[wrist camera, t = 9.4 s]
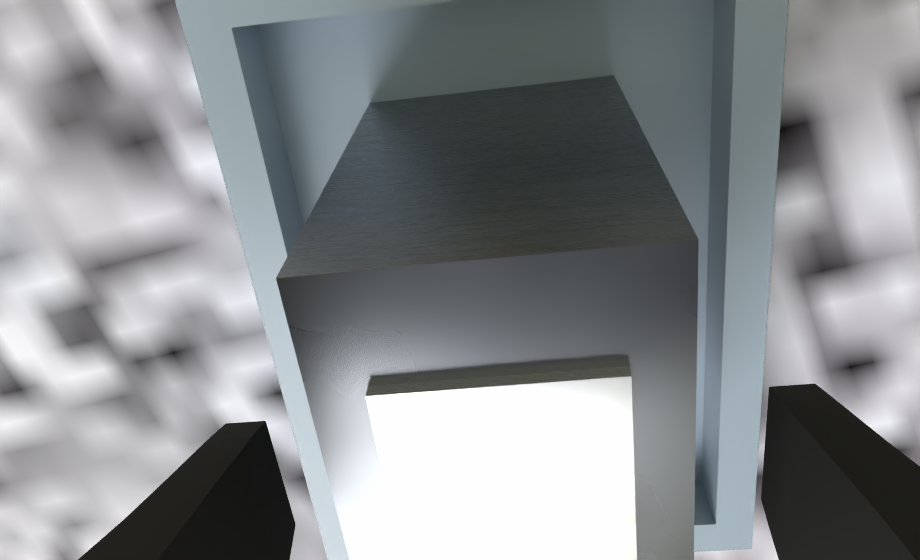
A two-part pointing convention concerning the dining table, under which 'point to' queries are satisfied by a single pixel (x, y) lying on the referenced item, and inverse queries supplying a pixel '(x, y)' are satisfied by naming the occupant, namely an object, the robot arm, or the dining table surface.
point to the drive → (501, 331)
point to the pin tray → (499, 66)
